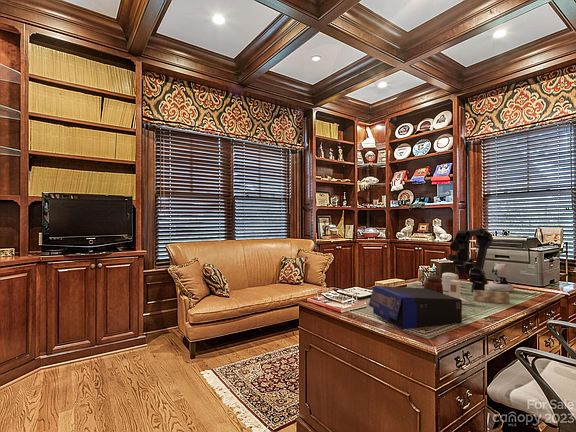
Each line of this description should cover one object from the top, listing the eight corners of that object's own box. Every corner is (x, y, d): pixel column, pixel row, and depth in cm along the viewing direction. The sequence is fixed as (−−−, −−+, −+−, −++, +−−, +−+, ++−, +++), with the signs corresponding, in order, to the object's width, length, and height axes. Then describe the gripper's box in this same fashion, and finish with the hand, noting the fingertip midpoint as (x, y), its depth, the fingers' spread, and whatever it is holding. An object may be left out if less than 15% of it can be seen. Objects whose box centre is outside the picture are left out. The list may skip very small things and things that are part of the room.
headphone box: (368, 313, 162) (368, 285, 162) (425, 308, 172) (426, 282, 172) (396, 330, 139) (396, 298, 139) (462, 323, 148) (462, 293, 148)
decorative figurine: (482, 287, 221) (482, 259, 221) (501, 287, 223) (502, 259, 223) (499, 293, 206) (499, 262, 206) (519, 292, 208) (519, 262, 208)
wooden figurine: (447, 310, 168) (448, 276, 168) (440, 312, 164) (440, 277, 164) (427, 305, 178) (427, 273, 178) (420, 306, 175) (420, 274, 175)
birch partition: (474, 300, 188) (474, 290, 188) (473, 299, 189) (473, 289, 189) (509, 303, 182) (509, 293, 182) (508, 302, 183) (508, 292, 183)
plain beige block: (460, 299, 186) (460, 281, 186) (457, 301, 183) (457, 282, 183) (452, 298, 189) (452, 279, 189) (449, 299, 186) (449, 280, 186)
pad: (460, 298, 191) (460, 297, 191) (470, 304, 179) (470, 302, 179) (440, 298, 192) (440, 296, 192) (448, 303, 180) (448, 302, 180)
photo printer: (440, 290, 213) (441, 272, 213) (443, 289, 216) (444, 271, 216) (456, 293, 205) (457, 274, 205) (459, 292, 208) (459, 273, 208)
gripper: (456, 248, 210) (456, 271, 210) (444, 250, 198) (444, 275, 198) (474, 249, 202) (474, 274, 202) (463, 251, 190) (463, 278, 190)
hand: (463, 275), depth 198 cm, fingers open, 9 cm apart
